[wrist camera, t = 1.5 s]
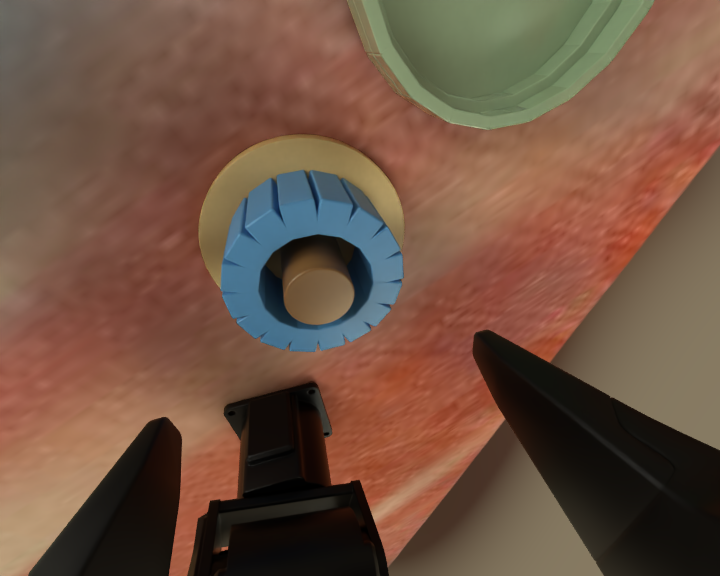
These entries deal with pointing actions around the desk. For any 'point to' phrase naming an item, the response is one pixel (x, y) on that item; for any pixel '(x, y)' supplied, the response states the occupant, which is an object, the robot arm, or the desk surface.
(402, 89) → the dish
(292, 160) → the tape holder
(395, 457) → the desk surface
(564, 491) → the robot arm
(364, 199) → the blue gear
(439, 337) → the desk surface
